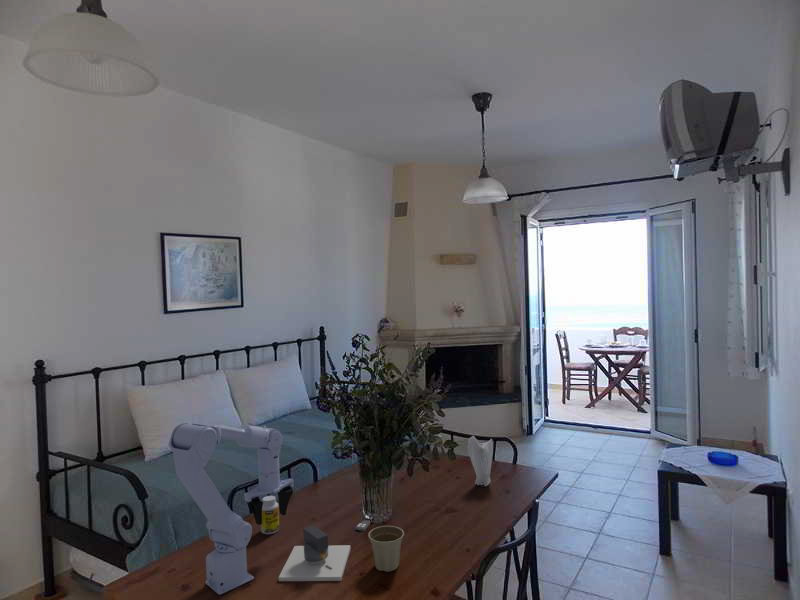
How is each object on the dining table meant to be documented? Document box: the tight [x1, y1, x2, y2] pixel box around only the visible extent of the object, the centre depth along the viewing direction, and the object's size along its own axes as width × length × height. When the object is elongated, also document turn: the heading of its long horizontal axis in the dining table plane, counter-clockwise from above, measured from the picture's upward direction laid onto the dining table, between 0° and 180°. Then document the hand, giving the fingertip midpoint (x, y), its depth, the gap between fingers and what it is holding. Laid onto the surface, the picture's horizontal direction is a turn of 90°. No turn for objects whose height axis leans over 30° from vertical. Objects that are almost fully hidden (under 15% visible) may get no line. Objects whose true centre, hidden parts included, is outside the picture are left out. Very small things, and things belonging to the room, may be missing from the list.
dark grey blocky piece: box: [302, 524, 329, 562], centre depth 137 cm, size 8×6×6 cm
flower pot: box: [367, 525, 405, 572], centre depth 135 cm, size 9×9×9 cm
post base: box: [278, 544, 352, 582], centre depth 138 cm, size 16×16×2 cm
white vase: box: [467, 435, 494, 487], centre depth 189 cm, size 8×8×18 cm
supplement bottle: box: [260, 495, 280, 535], centre depth 158 cm, size 6×6×10 cm
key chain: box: [354, 519, 371, 532], centre depth 162 cm, size 13×4×2 cm, turn 160°
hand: (271, 518), depth 144 cm, fingers open, 7 cm apart
